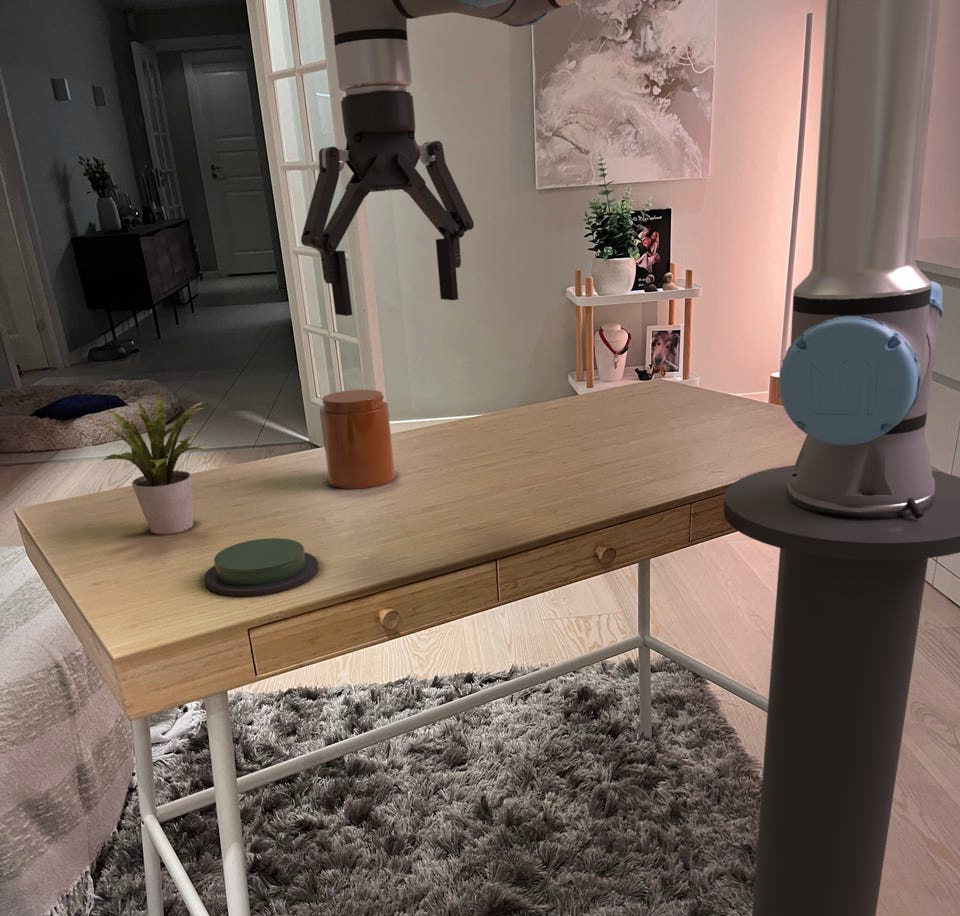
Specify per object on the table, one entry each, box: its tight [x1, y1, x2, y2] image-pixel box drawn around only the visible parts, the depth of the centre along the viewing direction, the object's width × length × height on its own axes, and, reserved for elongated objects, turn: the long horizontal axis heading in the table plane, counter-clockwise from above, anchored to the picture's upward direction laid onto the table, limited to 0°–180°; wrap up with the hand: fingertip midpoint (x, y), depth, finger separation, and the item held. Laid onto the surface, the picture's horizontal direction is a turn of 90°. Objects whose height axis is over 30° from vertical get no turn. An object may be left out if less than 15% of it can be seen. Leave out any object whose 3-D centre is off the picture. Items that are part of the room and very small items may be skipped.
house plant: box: [100, 393, 209, 535], centre depth 117 cm, size 14×14×16 cm
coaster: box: [204, 551, 320, 597], centre depth 104 cm, size 12×12×1 cm
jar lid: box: [213, 537, 306, 586], centre depth 104 cm, size 10×9×2 cm
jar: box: [319, 389, 396, 490], centre depth 133 cm, size 9×9×12 cm
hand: (398, 307), depth 110 cm, fingers open, 13 cm apart
